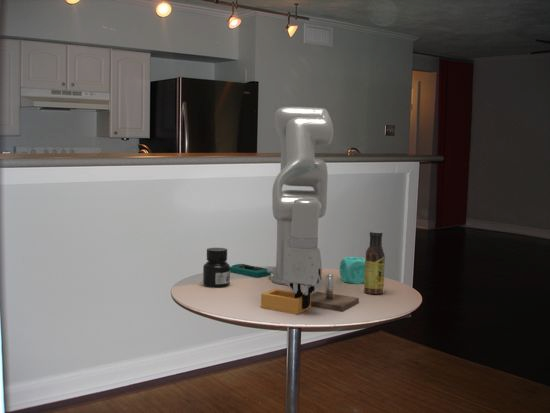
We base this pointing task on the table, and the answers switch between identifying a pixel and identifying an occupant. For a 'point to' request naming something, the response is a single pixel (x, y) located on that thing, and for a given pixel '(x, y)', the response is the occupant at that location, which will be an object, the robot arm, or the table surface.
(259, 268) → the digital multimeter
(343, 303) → the plate
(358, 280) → the decorative dice
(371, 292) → the sauce bottle
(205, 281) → the ink bottle
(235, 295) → the table surface
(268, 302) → the link
